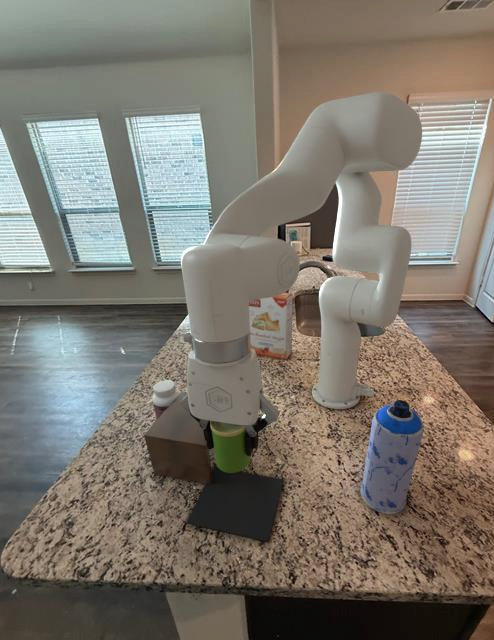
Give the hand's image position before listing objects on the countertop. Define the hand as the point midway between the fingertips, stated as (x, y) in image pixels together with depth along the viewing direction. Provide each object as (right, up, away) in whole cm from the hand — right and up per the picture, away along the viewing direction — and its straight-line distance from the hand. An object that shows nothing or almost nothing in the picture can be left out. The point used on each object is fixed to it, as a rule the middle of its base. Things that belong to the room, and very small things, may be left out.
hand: (232, 445), depth 49 cm
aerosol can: (+26, -11, +7) cm, 29 cm away
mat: (0, -12, +6) cm, 13 cm away
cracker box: (+6, +14, +56) cm, 58 cm away
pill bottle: (-17, -3, +25) cm, 30 cm away
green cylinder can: (0, -3, +1) cm, 3 cm away
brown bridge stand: (-9, -6, +16) cm, 20 cm away
